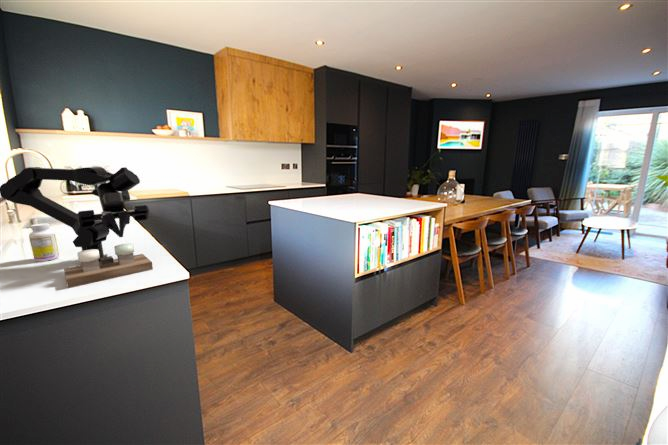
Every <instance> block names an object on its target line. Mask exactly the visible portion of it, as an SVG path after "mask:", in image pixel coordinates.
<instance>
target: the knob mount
mask: <svg viewBox="0 0 668 445" xmlns="http://www.w3.org/2000/svg"><path fill="white" fill-rule="evenodd" d="M104 255H105V257H104V258H100V261H99V260H98V259H97V260H94V261H89V262H80V263H81V265H78V266H77V265H76V266H71V267H66V268H63V271H64V277H65V280H66V284H67V289H70V288H74V287H80V286H85V285H90V284H92V283H97V282H101V281H105V280H107V281H108V280H111V279H115V278H119V277H123V276H130V275H132V274H133V275H134V274H138V273H141V272H147V271H150V270H151V271H152V270H153V269H154V267H153V262H152V260H150V259H149V257H147V256H146V255H145V254H143V253H139V254H135V255H134V252H133V253H131V254H127V255H116V257H117V258H113V256H112V255H111V256H109V255H108V254H107V253H105V254H104Z"/></svg>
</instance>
